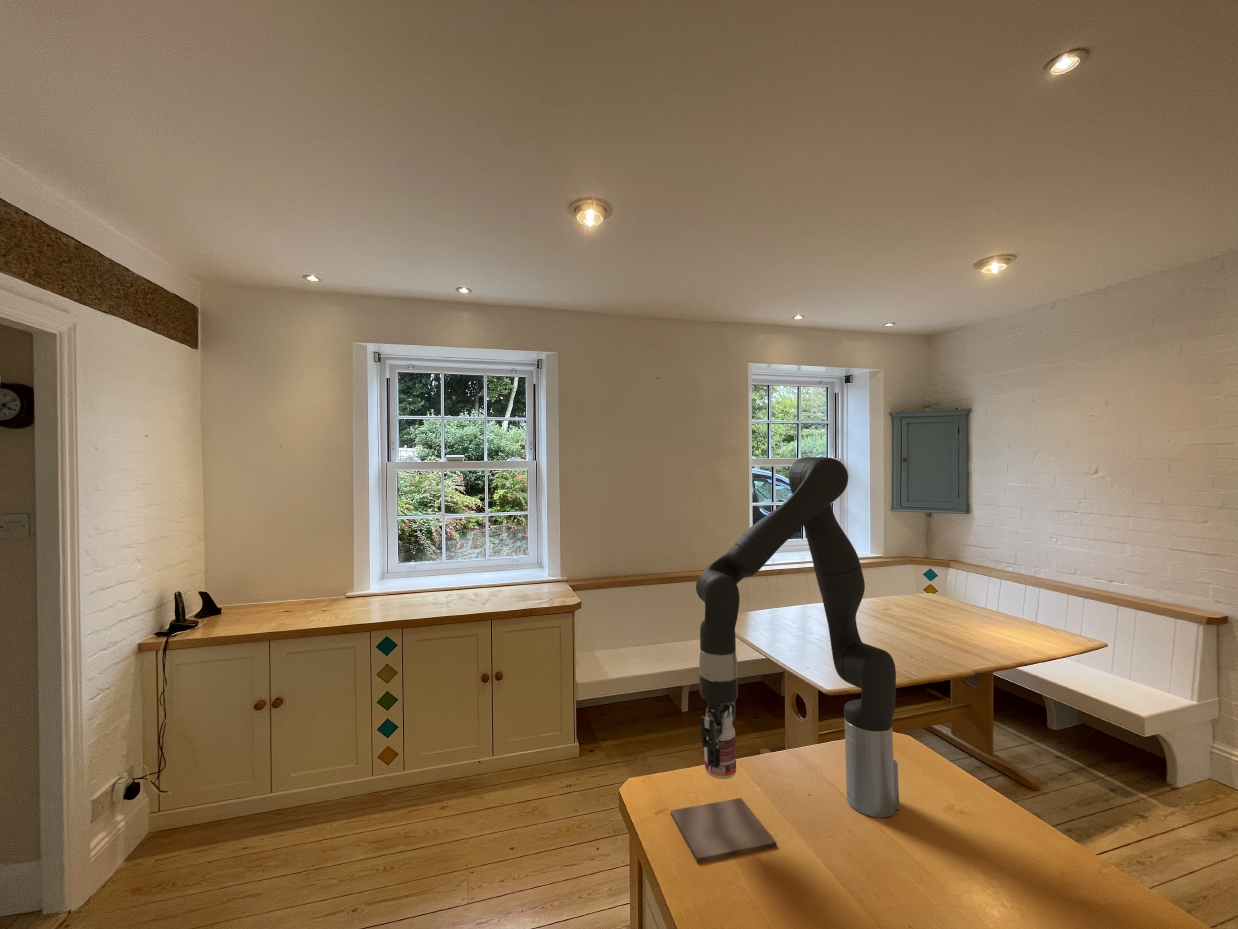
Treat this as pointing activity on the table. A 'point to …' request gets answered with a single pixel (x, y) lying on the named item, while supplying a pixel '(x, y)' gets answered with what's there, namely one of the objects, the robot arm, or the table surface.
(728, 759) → the pill bottle
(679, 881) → the table surface
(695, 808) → the walnut board
